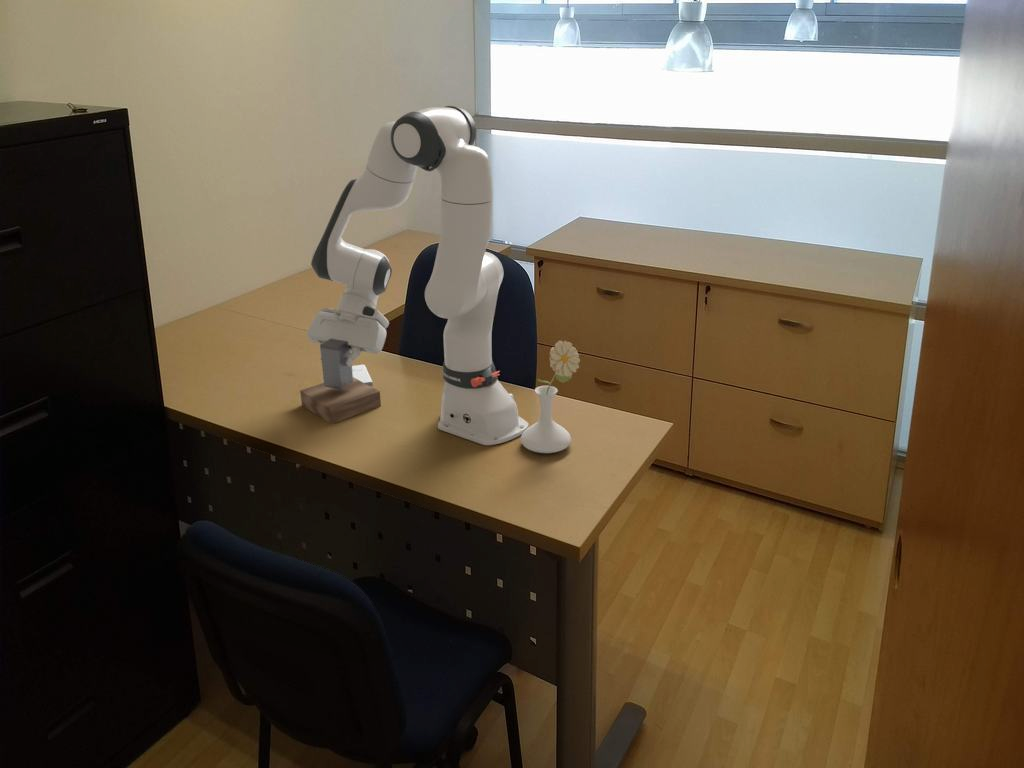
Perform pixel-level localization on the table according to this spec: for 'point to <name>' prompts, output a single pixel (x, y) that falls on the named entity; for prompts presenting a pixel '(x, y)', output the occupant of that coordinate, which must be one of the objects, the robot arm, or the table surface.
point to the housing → (336, 364)
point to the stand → (340, 400)
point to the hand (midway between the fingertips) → (335, 363)
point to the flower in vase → (546, 431)
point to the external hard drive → (362, 374)
